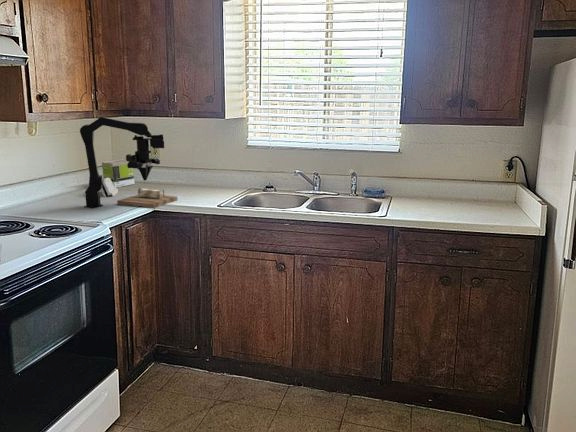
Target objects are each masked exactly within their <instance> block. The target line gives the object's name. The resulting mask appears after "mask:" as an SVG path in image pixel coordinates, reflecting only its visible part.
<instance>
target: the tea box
mask: <svg viewBox="0 0 576 432" xmlns="http://www.w3.org/2000/svg"><path fill="white" fill-rule="evenodd" d="M128 162H129V161H126V159H122V158H121V159H116V160H109V161H104V162H101V167H102V179H104V178H110V179H111V181H112V183H113V185H114V187H115V188H121V187H125V186H131V185H135V173H134V168H128V167H127V164H128Z"/></svg>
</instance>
